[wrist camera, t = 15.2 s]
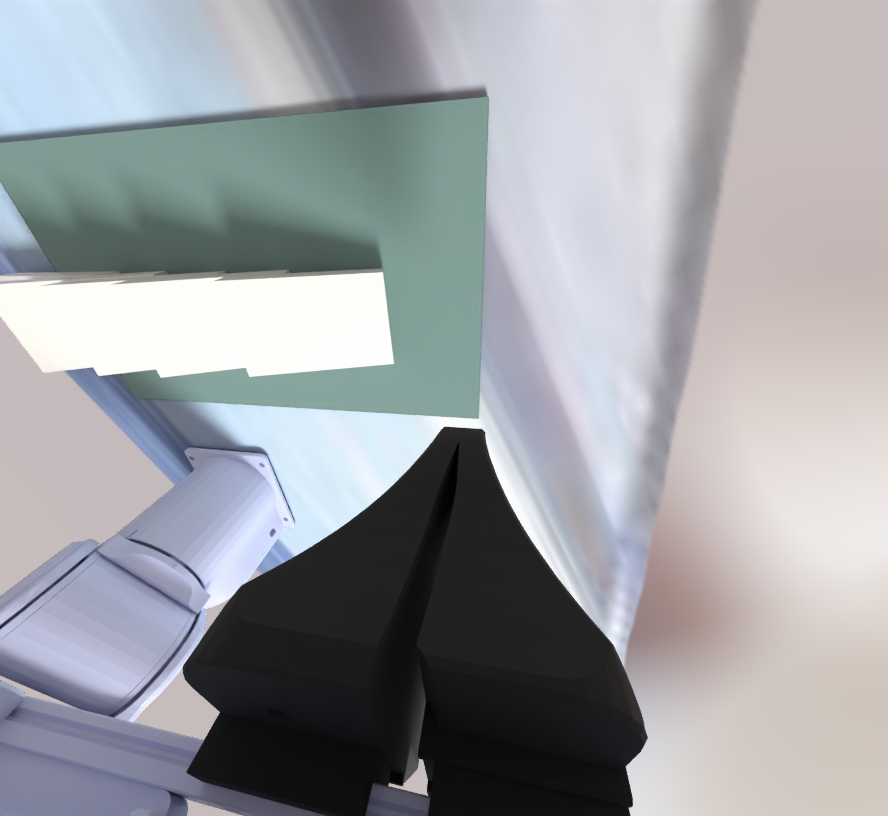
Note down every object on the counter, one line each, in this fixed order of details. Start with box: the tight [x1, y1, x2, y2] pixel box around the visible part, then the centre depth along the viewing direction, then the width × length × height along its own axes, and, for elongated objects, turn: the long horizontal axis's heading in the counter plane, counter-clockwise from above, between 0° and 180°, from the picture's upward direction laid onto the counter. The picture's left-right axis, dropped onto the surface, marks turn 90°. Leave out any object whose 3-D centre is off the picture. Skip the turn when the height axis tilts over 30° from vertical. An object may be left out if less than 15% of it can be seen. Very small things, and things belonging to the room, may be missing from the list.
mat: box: [0, 97, 489, 419], centre depth 19 cm, size 16×28×1 cm, turn 92°
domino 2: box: [39, 271, 226, 376], centre depth 19 cm, size 5×2×8 cm
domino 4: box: [213, 268, 394, 377], centre depth 17 cm, size 5×2×8 cm
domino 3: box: [109, 269, 290, 378], centre depth 18 cm, size 5×2×8 cm
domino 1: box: [0, 271, 168, 373], centre depth 19 cm, size 5×2×8 cm
